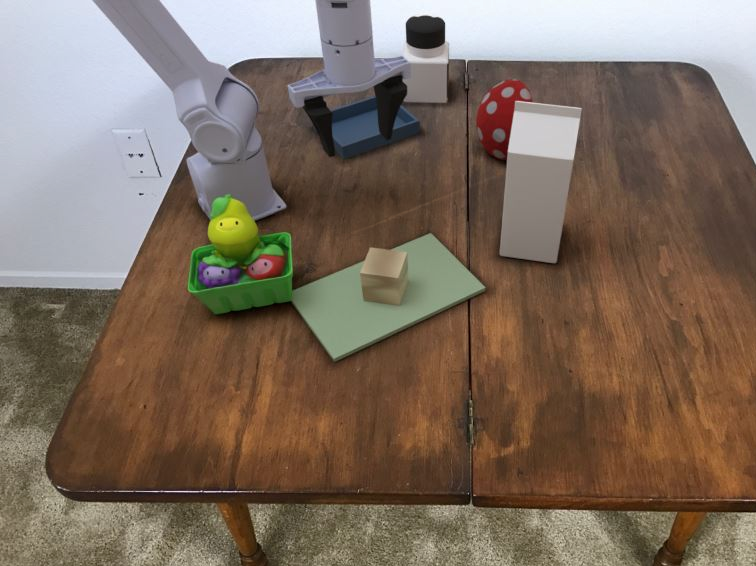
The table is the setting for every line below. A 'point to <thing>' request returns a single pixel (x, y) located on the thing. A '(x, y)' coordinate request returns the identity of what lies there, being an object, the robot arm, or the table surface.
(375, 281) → the block
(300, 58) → the table surface
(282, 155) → the table surface
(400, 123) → the tray
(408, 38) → the medicine bottle
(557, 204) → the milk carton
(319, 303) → the mat
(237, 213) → the fruit basket
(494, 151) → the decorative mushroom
